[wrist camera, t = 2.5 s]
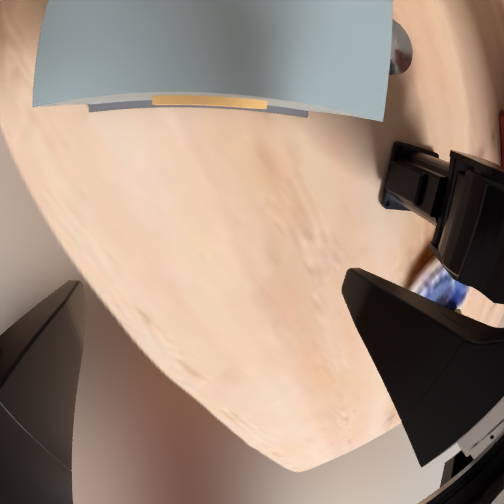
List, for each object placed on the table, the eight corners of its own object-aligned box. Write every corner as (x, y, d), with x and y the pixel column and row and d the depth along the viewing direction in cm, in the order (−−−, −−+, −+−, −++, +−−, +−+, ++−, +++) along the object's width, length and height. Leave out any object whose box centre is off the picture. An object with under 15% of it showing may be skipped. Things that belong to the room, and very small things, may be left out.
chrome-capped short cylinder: (373, 36, 17) (413, 30, 12) (369, 81, 19) (410, 82, 14) (327, 20, 15) (364, 5, 11) (323, 67, 18) (360, 62, 13)
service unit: (313, 12, 15) (399, -26, 6) (301, 116, 19) (389, 134, 11) (107, -2, 11) (63, -65, 3) (93, 111, 15) (22, 122, 7)
